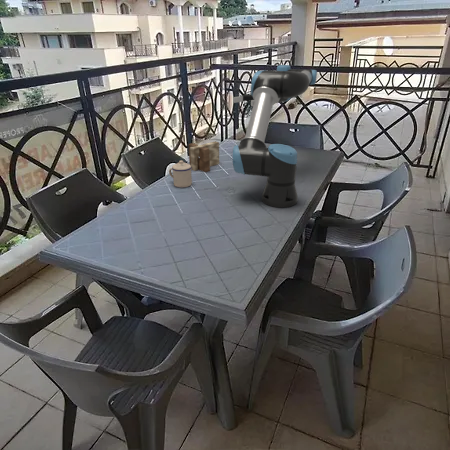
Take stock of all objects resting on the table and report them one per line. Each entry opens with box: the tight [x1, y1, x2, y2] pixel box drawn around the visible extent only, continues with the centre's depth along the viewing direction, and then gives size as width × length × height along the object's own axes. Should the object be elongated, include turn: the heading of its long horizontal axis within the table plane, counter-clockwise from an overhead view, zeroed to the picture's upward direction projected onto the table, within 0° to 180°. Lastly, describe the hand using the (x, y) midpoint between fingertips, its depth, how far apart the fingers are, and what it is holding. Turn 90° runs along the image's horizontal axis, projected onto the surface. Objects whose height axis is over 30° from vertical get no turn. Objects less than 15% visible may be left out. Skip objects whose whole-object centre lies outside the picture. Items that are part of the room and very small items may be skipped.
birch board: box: [190, 141, 220, 172], centre depth 185 cm, size 17×3×12 cm, turn 131°
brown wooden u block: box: [187, 142, 211, 173], centre depth 183 cm, size 14×3×12 cm, turn 41°
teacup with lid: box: [168, 160, 193, 188], centre depth 164 cm, size 12×9×12 cm
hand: (242, 101), depth 181 cm, fingers open, 13 cm apart
